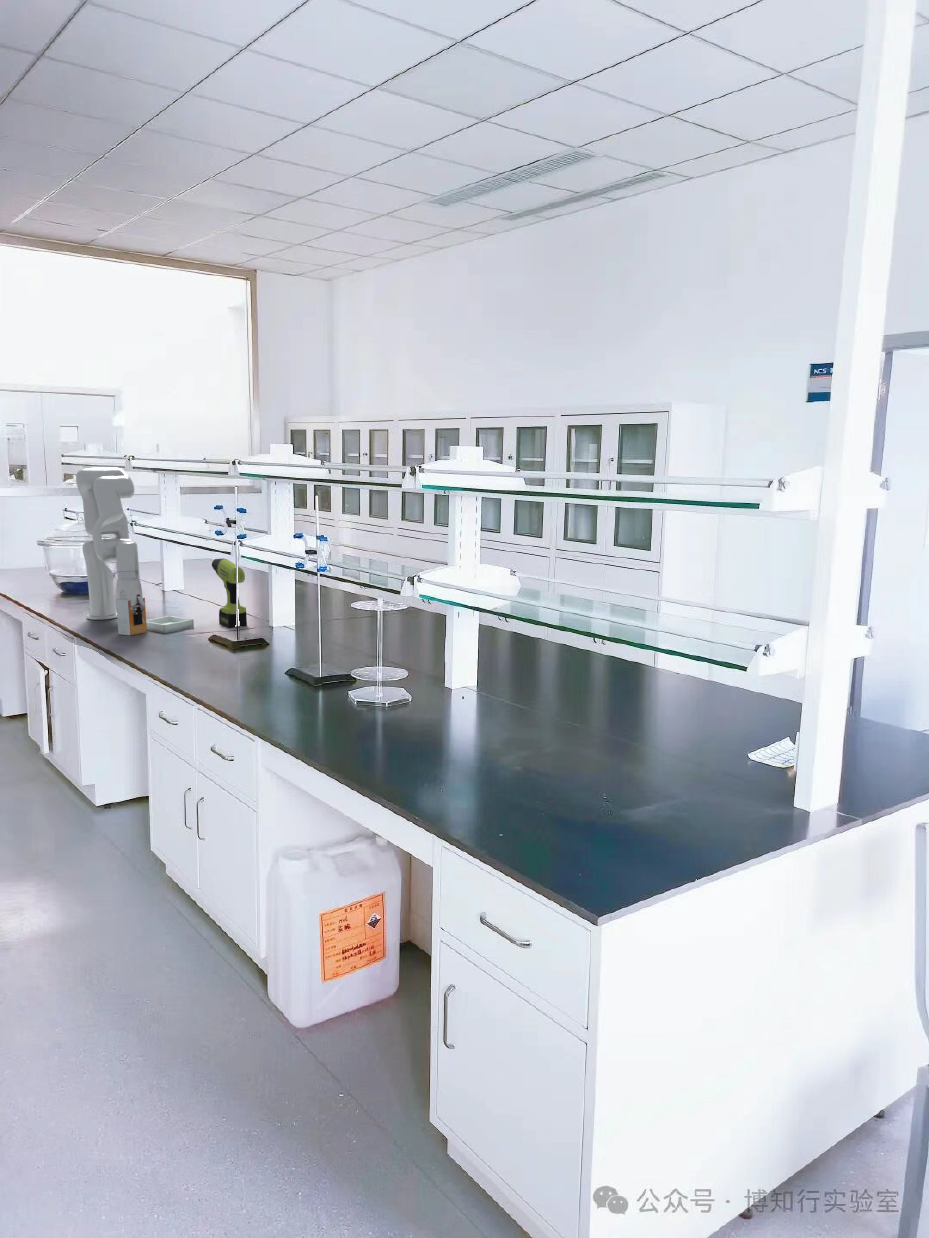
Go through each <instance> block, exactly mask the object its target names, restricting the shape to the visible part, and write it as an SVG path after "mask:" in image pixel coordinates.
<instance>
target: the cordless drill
mask: <svg viewBox="0 0 929 1238" xmlns="http://www.w3.org/2000/svg"><path fill="white" fill-rule="evenodd" d="M235 565H236V564H235V563H234V562H233V561H231V560H229V559H227V558H215V559H213V560H212V562H211V567H212V569H213V570H214V571H215V573H216V575H217V576H218V578H220V579H221V580H222V582H223V586H224V589H225V590H226V592H225V593H226V596H227V597H226V598H227V599H226V601H227V602H226V603H225V605H224V606H223V607H221V608H220V609H219V610H218V622H219V624H218V625H220V626H223V627H225V628H228V629H233V628H234V627H235V625H236V568H235ZM245 580H246V574H245V572H244V569H242V568H241V567H240V566H238V583H237V584H241V583H244V582H245ZM238 609H239V621H240V626H242V627H247V626H248V622H247V621H248V620H247V607H246V606H242V605H241V604H240V601H239V597H238ZM235 628H236V627H235Z"/></svg>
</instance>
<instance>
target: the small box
mask: <svg viewBox="0 0 929 1238" xmlns="http://www.w3.org/2000/svg"><path fill="white" fill-rule="evenodd" d="M143 602H144V603H145V604H146V598H145V597H143ZM136 605H138V604H136ZM136 605H135V606H136ZM115 606H116V612H117V618H116V619H117V632H118V634H119V635H124V636H133V635H138V634H143V633H147V632H148V630H147V624H146V620H147V612H146V611H147V610H146V606H145V607H144V610H143V613H142V621H143V624H140V625H134V615H133V614H135V613H134V611H133V607H130V601H129V600H124V599H117V598H116V599H115ZM137 609H138V608H136V610H137Z"/></svg>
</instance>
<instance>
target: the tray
mask: <svg viewBox="0 0 929 1238" xmlns="http://www.w3.org/2000/svg"><path fill="white" fill-rule="evenodd" d="M146 624H147V631H151V632H155V633H157V632H158V633H162V634H166V633H173V632H177V631H183V630H187V629H192V628H194V627H195V624H194V619H192V618H187V617H180V616H176V615H175V616H173V615H168V616H161V617H156V618H150V619H146Z"/></svg>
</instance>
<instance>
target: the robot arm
mask: <svg viewBox="0 0 929 1238" xmlns="http://www.w3.org/2000/svg"><path fill="white" fill-rule="evenodd" d="M75 482H76V486H77V489H78V492H79V494H80V497H81V499H82V505H83V506H82V508H83V518H84V519H83V520H84V529H85V532H86V533H87V534H88V535H90V536H92V538H90V539H87V540H86V541H84V543H83V544H82V547H81V548H82V555H83V558H84V561H85V563H84V564H85V568H86V575H87V576H86V577H87V587H88V597H89V606H88V607H87V608H86V609H87V611H89V614H87V615H86V619H88V620H93V621H95V620H96V621H101V620H102V621H103V620H111V619H118V618H117V605H116V600H117V599H124V600H129V601H130V607H133V611H134V613H135V614H133V615H134V625H140V624H143V621H142V613H143V610H144V607H145V608H146V602H145V603H144V602H143V590H142V589H143V588H142V583H141V580H140V579H141V577H140V564H139V552H138V551H139V550H138V544H137V543H136V541H134V540H133V539H130V535H129V523H128V518H127V515H126V513H125V512H124V509H123V504H122V501H121V499H131V498H133V496H134V495H135V486H134V481H133V480H132V478H131V477H130V475H129V474H128V473H127V472H126V471H125V470H124V469H122V468H120V467H89V468H83V469H80V470H78V471H77V472H76V475H75ZM106 535H108V536H109V535H114V536H115V537H102V536H106ZM110 562H112V563H114V562H116V573H117V575H116V576H117V579H116V591H115V585H114V584H115V581H114V574H113V571H112V570H111V569H110V567H108V565H107V564H106V563H110ZM115 592H116V593H115ZM115 594H116V595H115ZM136 604H138V605H136ZM135 605H136V606H135ZM136 608H138V609H137V610H136Z"/></svg>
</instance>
